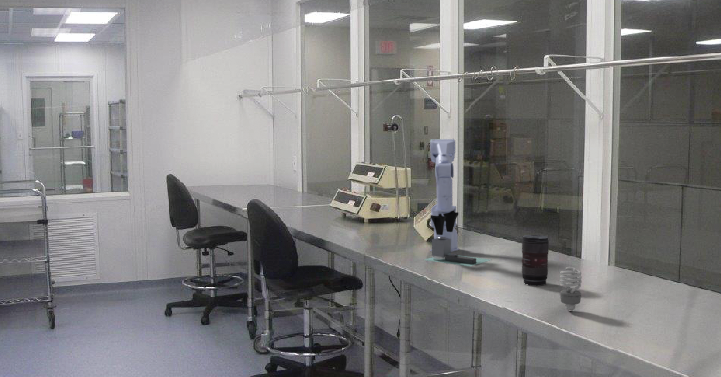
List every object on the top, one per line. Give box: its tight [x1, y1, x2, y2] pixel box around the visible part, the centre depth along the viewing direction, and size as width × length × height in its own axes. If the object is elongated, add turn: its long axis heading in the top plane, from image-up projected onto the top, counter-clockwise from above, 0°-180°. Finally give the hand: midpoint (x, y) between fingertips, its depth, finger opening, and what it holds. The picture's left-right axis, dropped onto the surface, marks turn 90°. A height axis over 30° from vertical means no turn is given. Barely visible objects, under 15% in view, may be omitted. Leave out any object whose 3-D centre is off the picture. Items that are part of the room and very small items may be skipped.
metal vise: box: [432, 253, 477, 265], centre depth 270 cm, size 17×6×4 cm, turn 49°
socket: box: [431, 237, 452, 257], centre depth 273 cm, size 5×5×7 cm
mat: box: [423, 254, 491, 268], centre depth 273 cm, size 15×20×1 cm
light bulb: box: [559, 266, 583, 311], centre depth 201 cm, size 6×6×12 cm
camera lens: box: [521, 234, 550, 287], centre depth 233 cm, size 8×8×15 cm
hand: (444, 233), depth 274 cm, fingers open, 7 cm apart
